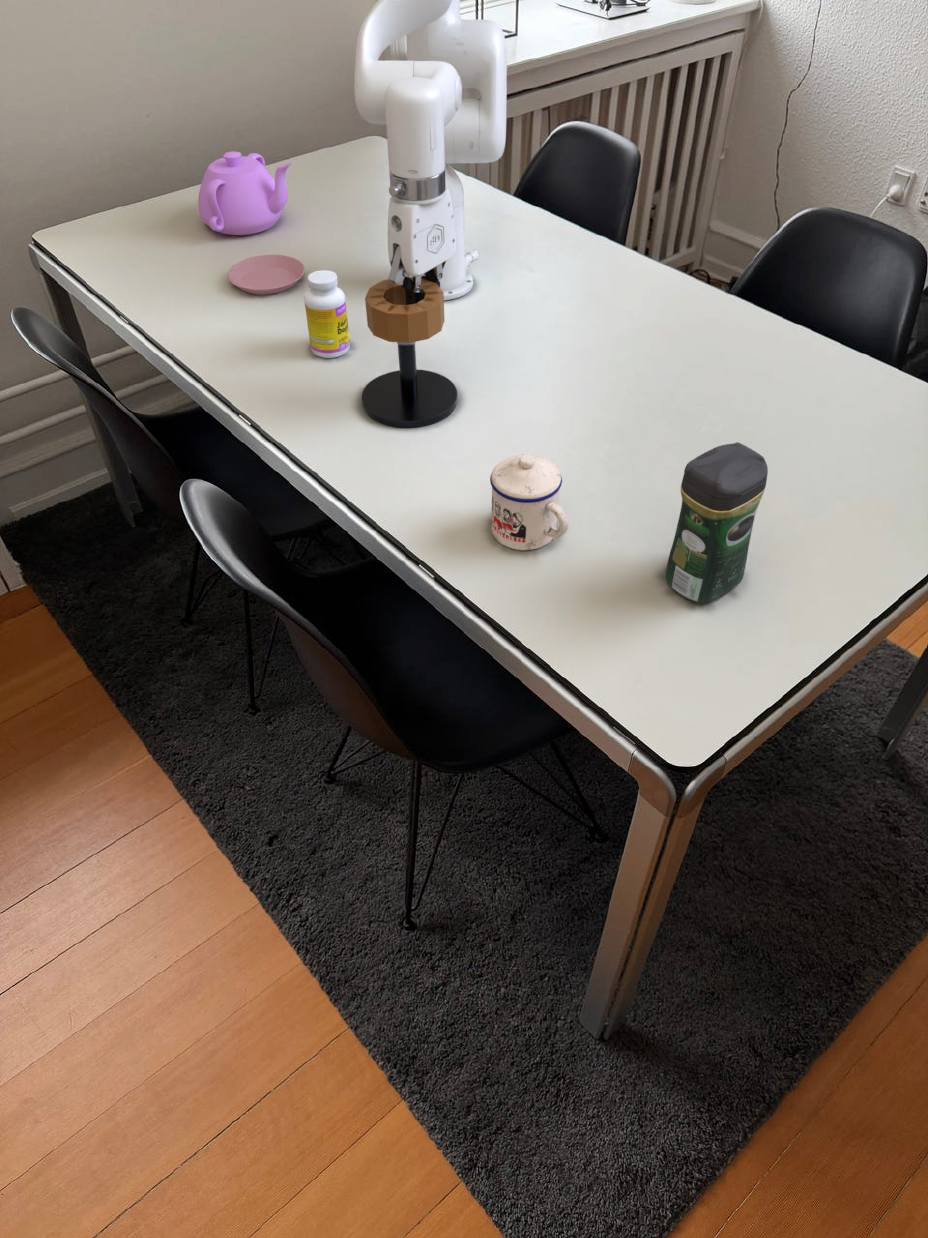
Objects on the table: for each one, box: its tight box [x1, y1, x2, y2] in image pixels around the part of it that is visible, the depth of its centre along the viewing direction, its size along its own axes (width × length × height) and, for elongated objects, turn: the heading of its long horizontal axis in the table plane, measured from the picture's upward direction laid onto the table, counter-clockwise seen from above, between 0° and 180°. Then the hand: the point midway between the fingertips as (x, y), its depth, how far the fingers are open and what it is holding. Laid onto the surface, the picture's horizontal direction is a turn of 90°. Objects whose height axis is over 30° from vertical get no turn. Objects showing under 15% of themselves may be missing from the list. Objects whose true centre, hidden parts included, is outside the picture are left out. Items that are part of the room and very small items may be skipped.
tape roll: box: [364, 277, 445, 343], centre depth 138 cm, size 11×11×4 cm
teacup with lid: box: [489, 454, 569, 551], centre depth 121 cm, size 12×9×12 cm
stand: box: [360, 342, 459, 429], centre depth 144 cm, size 15×15×13 cm
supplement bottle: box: [303, 269, 351, 359], centre depth 155 cm, size 7×7×13 cm
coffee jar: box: [664, 441, 769, 604], centre depth 112 cm, size 10×8×19 cm
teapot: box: [197, 150, 292, 236], centre depth 191 cm, size 22×22×14 cm
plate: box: [227, 254, 306, 296], centre depth 177 cm, size 14×14×2 cm
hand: (423, 307), depth 141 cm, fingers closed on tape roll, 3 cm apart
